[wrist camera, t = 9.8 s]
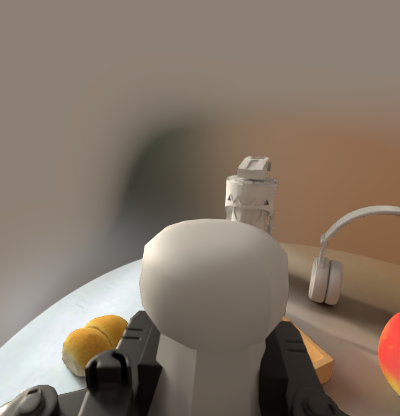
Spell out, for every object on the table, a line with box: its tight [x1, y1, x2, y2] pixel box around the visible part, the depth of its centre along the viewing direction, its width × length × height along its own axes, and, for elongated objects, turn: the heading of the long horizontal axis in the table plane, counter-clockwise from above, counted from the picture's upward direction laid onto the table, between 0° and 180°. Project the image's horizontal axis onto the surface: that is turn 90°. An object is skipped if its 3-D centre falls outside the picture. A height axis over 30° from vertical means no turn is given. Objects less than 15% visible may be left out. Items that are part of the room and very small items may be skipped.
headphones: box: [309, 206, 400, 305], centre depth 42 cm, size 20×8×19 cm, turn 64°
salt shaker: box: [139, 219, 289, 416], centre depth 9 cm, size 6×6×13 cm
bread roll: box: [62, 315, 128, 376], centre depth 35 cm, size 8×9×4 cm
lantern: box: [225, 157, 278, 236], centre depth 56 cm, size 13×10×25 cm
